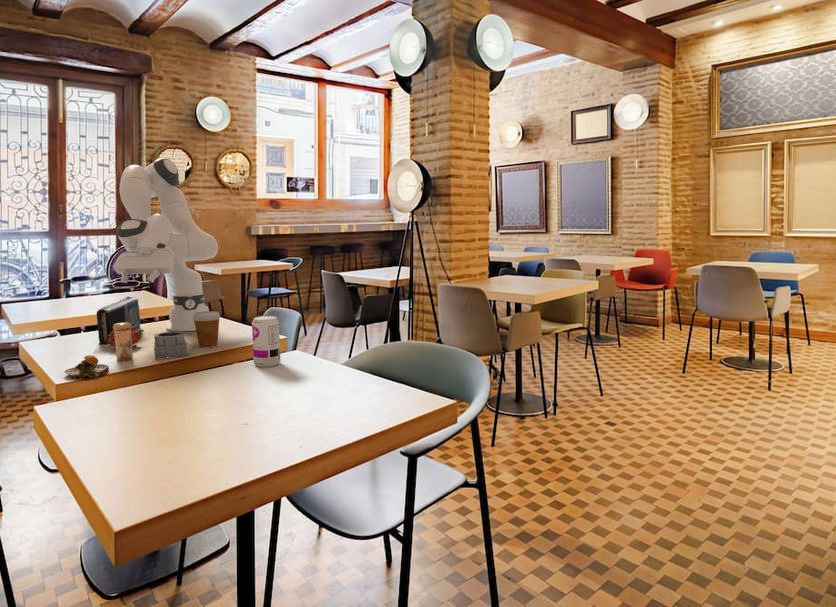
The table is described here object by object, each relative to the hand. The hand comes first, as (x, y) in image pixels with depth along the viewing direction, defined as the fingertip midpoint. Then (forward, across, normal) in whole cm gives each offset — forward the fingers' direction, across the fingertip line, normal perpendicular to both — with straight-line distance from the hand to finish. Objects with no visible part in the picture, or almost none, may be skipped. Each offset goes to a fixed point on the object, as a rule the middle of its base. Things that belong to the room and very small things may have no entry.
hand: (136, 281), depth 203 cm
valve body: (+18, +11, +16) cm, 27 cm away
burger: (+38, -1, -3) cm, 39 cm away
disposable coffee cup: (+11, +19, +24) cm, 33 cm away
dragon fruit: (+14, -9, +20) cm, 27 cm away
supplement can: (+28, +49, +8) cm, 58 cm away
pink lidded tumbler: (+26, 0, +9) cm, 27 cm away
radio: (+3, -20, +31) cm, 37 cm away
